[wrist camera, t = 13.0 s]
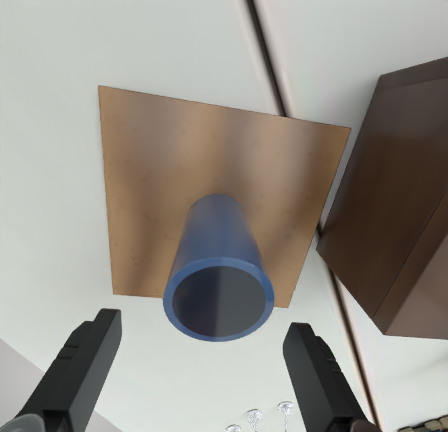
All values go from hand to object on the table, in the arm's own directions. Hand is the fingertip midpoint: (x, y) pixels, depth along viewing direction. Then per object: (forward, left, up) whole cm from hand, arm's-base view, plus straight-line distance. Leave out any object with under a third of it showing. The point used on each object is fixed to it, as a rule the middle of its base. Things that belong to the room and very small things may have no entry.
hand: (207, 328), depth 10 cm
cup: (+1, 0, -11) cm, 11 cm away
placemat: (0, 0, -12) cm, 12 cm away
